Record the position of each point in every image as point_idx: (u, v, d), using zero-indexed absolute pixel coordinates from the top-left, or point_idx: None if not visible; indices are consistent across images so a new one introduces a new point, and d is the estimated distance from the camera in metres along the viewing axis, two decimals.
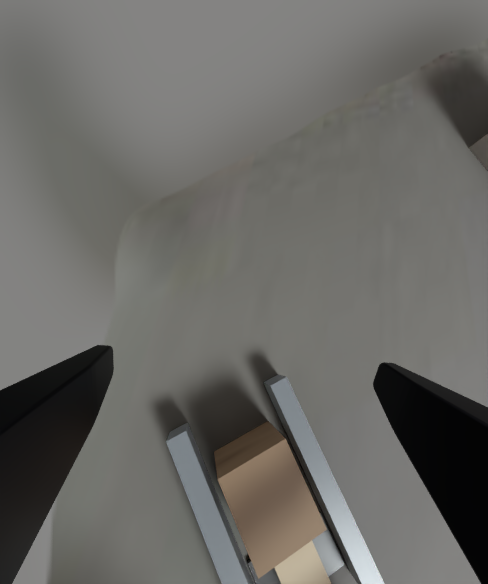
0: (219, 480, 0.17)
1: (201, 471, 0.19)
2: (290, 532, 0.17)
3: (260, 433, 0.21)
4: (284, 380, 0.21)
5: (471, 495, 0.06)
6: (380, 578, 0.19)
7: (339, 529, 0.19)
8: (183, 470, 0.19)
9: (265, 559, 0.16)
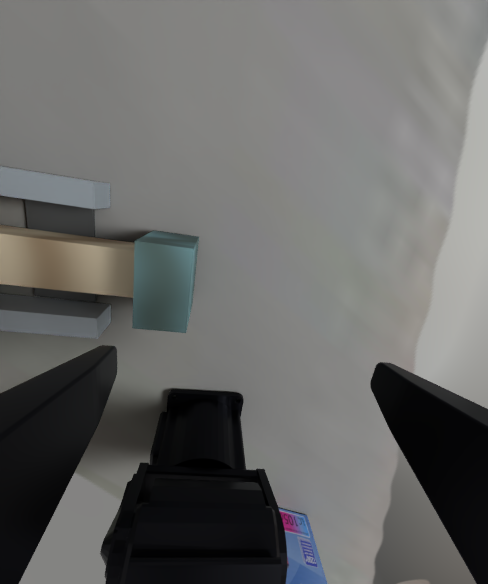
0: None
1: None
2: None
3: None
4: None
5: (467, 495, 0.06)
6: (80, 181, 0.15)
7: (0, 190, 0.15)
8: None
9: None
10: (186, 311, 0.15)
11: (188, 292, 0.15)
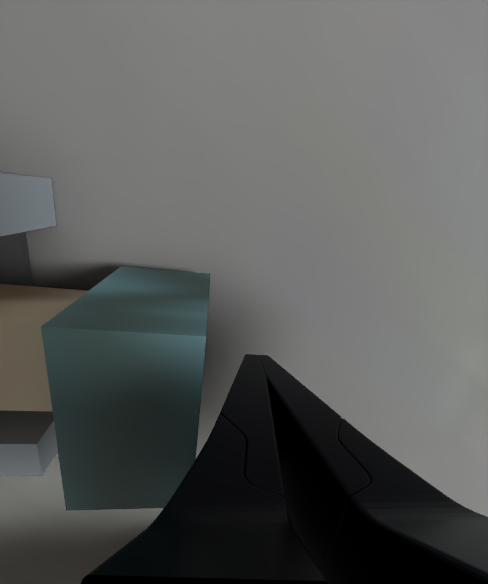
0: None
1: None
2: None
3: None
4: None
5: (286, 498, 0.06)
6: None
7: None
8: None
9: None
10: None
11: (194, 432, 0.06)
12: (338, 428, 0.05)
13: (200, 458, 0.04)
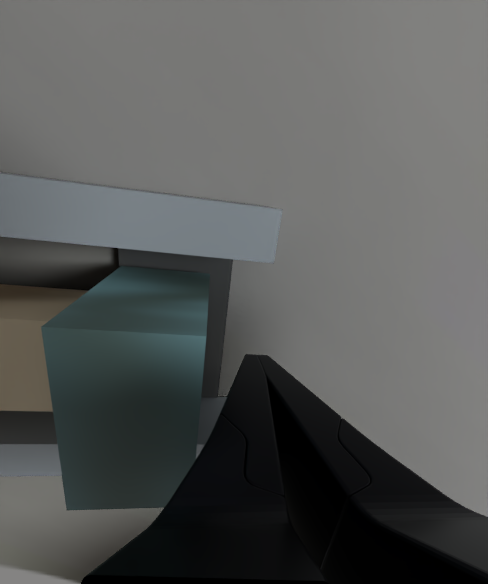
0: None
1: None
2: None
3: None
4: None
5: (286, 498, 0.06)
6: (257, 210, 0.07)
7: (95, 237, 0.07)
8: None
9: None
10: None
11: (195, 431, 0.06)
12: (338, 428, 0.05)
13: (200, 458, 0.04)
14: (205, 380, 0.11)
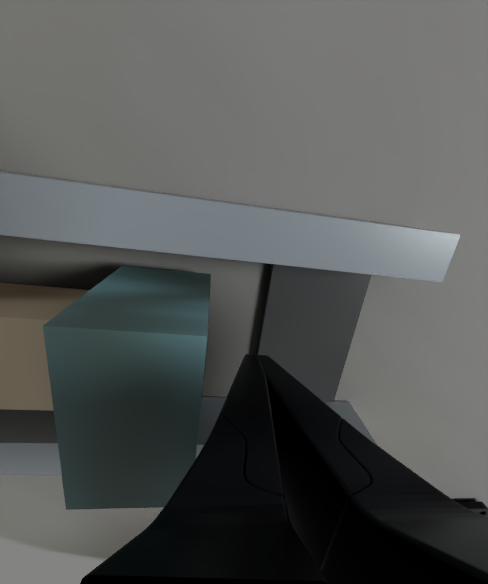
0: None
1: (22, 444, 0.09)
2: None
3: None
4: None
5: (287, 498, 0.06)
6: (439, 235, 0.08)
7: (298, 259, 0.08)
8: (5, 467, 0.09)
9: None
10: None
11: (195, 431, 0.06)
12: (338, 428, 0.05)
13: (200, 458, 0.04)
14: (326, 385, 0.12)
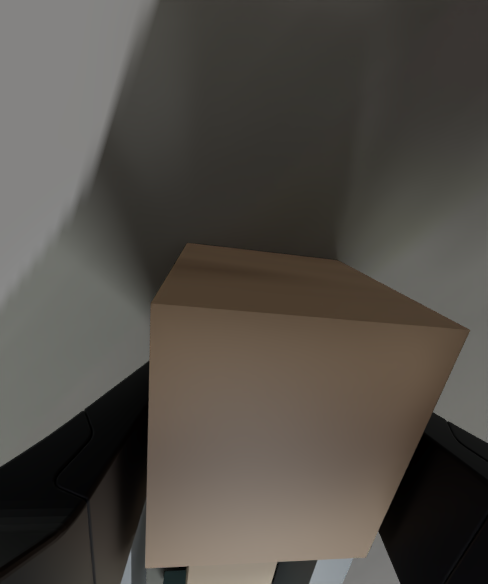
0: (156, 311, 0.04)
1: None
2: (283, 529, 0.06)
3: (326, 270, 0.07)
4: None
5: (395, 496, 0.06)
6: None
7: None
8: None
9: (186, 547, 0.05)
10: None
11: None
12: (450, 430, 0.06)
13: (19, 457, 0.04)
14: None
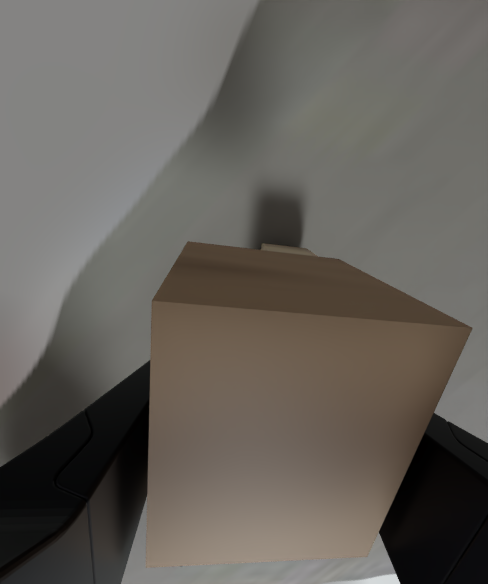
0: (157, 309, 0.04)
1: None
2: (285, 528, 0.06)
3: (327, 269, 0.07)
4: None
5: (395, 496, 0.06)
6: None
7: None
8: None
9: (187, 546, 0.05)
10: None
11: None
12: (451, 431, 0.06)
13: (18, 457, 0.04)
14: None
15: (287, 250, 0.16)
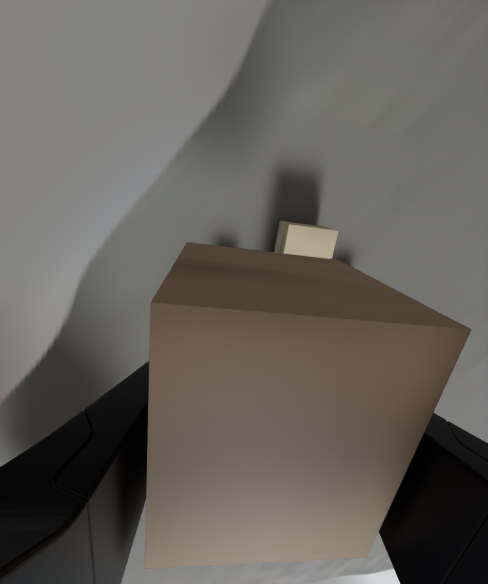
0: (156, 310, 0.04)
1: None
2: (284, 530, 0.06)
3: (326, 270, 0.07)
4: None
5: (395, 496, 0.06)
6: None
7: None
8: None
9: (186, 547, 0.05)
10: None
11: None
12: (450, 431, 0.06)
13: (18, 457, 0.04)
14: None
15: (306, 225, 0.16)
